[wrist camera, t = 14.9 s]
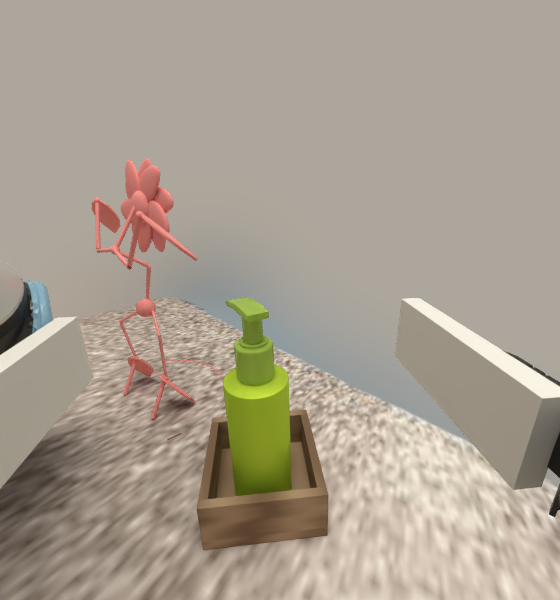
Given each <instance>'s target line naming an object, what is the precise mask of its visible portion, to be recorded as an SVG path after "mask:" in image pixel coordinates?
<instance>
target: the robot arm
mask: <svg viewBox="0 0 560 600" xmlns="http://www.w3.org/2000/svg"><path fill="white" fill-rule="evenodd" d="M395 357H396V358H397V359H398V360H399V361H400V362H401V363H402V365H403V366H404V367H405V368H406V369H407V370H408V371H409V372H410V374H411V375H412V376H413V377H414V378H415V379H416V380H417V381H418V383H419V384H420V385H421V386H422V387H423V388H424V389H425V391H426V392H427V393H428V394H429V395H430V396H431V397H432V398H433V400H434V401H435V402H436V403H437V404H438V405H439V406H440V408H441V409H442V410H443V411H444V412H445V413H446V414H447V415H448V416H449V418H450V419H451V420H452V421H453V422H454V423H455V424H456V426H457V427H458V428H459V429H460V430H461V431H462V432H463V434H464V435H465V436H466V437H467V438H468V439H469V440H470V442H471V443H472V444H473V445H474V446H475V447H476V448H477V449H478V451H479V452H480V453H481V454H482V455H483V456H484V457H485V459H486V460H487V461H488V462H489V463H490V464H491V465H492V466H493V468H494V469H495V470H496V471H497V472H498V473H499V474H500V475H501V477H502V478H503V479H504V480H505V481H506V482H507V483H508V485H509V486H510V487H511V488H512V489H513V490H516V489H525V488H534V487H541V486H542V483H543V481H544V478H545V475H546V472H547V470H548V468H549V469H550V470H552V471H553V472H554V473H555V474H556V475H557V476H558V477H559V478H560V382H558V381H556V380H555V379H553V378H552V377H550V376H546V375H545V373H544V372H542V371H540V370H539V369H537V368H533V366H532V365H531V364H529V363H527V362H526V361H524V360H523V359H521V358H519V357H518V356H515V355H513V354H510V353H508V352H505V351H503V350H501V349H499V348H498V347H496V346H494V345H493V344H491V343H490V342H488V341H486V340H485V339H483V338H482V337H480V336H478V335H477V334H475V333H474V332H472V331H470V330H469V329H467V328H466V327H464V326H463V325H461V324H460V323H458V322H456V321H455V320H453V319H452V318H450V317H448V316H447V315H445V314H444V313H442V312H440V311H439V310H437V309H436V308H434V307H433V306H431V305H429V304H428V303H426V302H425V301H423V300H421V299H420V298H410V299H402V301H401V310H400V318H399V326H398V336H397V343H396V352H395ZM92 379H93V374H92V370H91V366H90V362H89V359H88V355H87V351H86V347H85V344H84V340H83V336H82V332H81V329H80V325H79V321H78V318H77V317H65V318H56V319H54V320H53V319H52V313H51V307H50V301H49V296H48V291H47V288H46V286H45V285H44V284H43V283H40V282H31V281H27V282H26V281H24V282H23V281H22V279H21V277H20V276H19V274H18V273H17V271H16V270H15V269H14V268H13V267H12V266H11V265H9V264H7V263H6V262H4V261H2V260H0V489H1V488H2V486H3V485H4V484H5V483H6V482H7V480H8V479H9V478H10V477H11V476H12V474H13V473H14V472H15V471H16V470H17V468H18V467H19V466H20V465H21V464H22V462H23V461H24V460H25V459H26V458H27V457H28V455H29V454H30V453H31V452H32V451H33V449H34V448H35V447H36V446H37V445H38V443H39V442H40V441H41V440H42V439H43V437H44V436H45V435H46V434H47V433H48V431H49V430H50V429H51V428H52V427H53V425H54V424H55V423H56V422H57V421H58V419H59V418H60V417H61V416H62V415H63V413H64V412H65V411H66V410H67V409H68V407H69V406H70V405H71V404H72V403H73V401H74V400H75V399H76V398H77V397H78V395H79V394H80V393H81V392H82V391H83V389H84V388H85V387H86V386H87V385H88V383H89V382H90V381H91V380H92ZM558 510H560V485H559V487H558V490H557V492H556V495H555V498H554V500H553V503H552V505H551V508H550V512H549V515H551V516H554V517H555V516H556V513H557V511H558Z"/></svg>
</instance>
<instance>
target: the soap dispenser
mask: <svg viewBox="0 0 560 600" xmlns="http://www.w3.org/2000/svg"><path fill="white" fill-rule="evenodd" d="M226 304H227V306H229V307H231V308H233V309H234V310H235V311H236V312H237V313H238V314H239V315H240V316H241V317H242V328H243V337H242V338H241V339H239V340H238V341H236V343H235V345H234V351H235V362H236V368H234V369H232V370H231V371H230V372H229V373H228V374H227V375H226V376H225V378H224V381H223V387H224V396H225V405H226V414H227V423H228V432H229V441H230V451H231V460H232V469H233V478H234V487H235V495H236V496H243V495H252V494H262V493H271V492H280V491H290V490H291V489H292V480H291V446H290V412H289V379H288V374H287V372H286V371H285V370H284V369H283V368H282V367H280V366H278V365H275V364H274V353H273V342H272V340H271V339H270V338H268V337H265V336H263V330H262V319H266V318H268V317H269V313H268V311H267V310H266V309H265V308H264V307H263V306H262V305H261V304H259V303H258V302H257V301H255V300H253V299H251V298H246V297H245V298H239V299H234V300H229V301H226Z"/></svg>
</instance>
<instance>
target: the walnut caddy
mask: <svg viewBox="0 0 560 600" xmlns="http://www.w3.org/2000/svg"><path fill="white" fill-rule="evenodd" d="M289 412H290V446H291V480H292V489H291V490H290V491H280V492H271V493H262V494H252V495H243V496H236V495H235V487H234V478H233V469H232V460H231V451H230V441H229V432H228V423H227V417H218V418H213V419H212V425H211V430H210V436H209V442H208V448H207V453H206V459H205V465H204V471H203V477H202V482H201V488H200V494H199V500H198V505H197V513H198V519H199V525H200V531H201V537H202V543H203V549H204V550H207V549H215V548H224V547H232V546H240V545H249V544H257V543H265V542H274V541H282V540H291V539H299V538H307V537H316V536H324V535H327V525H328V492H327V488H326V484H325V481H324V477H323V473H322V469H321V465H320V461H319V457H318V454H317V450H316V446H315V442H314V438H313V434H312V430H311V426H310V423H309V419H308V415H307V411H306V410H298V411H289Z"/></svg>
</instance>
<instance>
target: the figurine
mask: <svg viewBox="0 0 560 600" xmlns="http://www.w3.org/2000/svg"><path fill="white" fill-rule="evenodd" d="M125 177H126V183H125V184H126V193H127V197H128V199H127V200H125V201H124V202H123V203H122V204H121V212H122V214H123V216H124V218H125V219H126V220H127V221H126V223H125V225H124V227H123V229H122V232H121V234H120V236H119V238H118V240H117V243H116V245H115V246H112V247H111V248H104V249H101V248H100V222H101V223H102V224H104V225H105V226H106V227H107V228H108V229H110V230H111V231H112V232H114V233H115V232H117V230H118V229H119V227H120V220H119V218H118V216H117V214H116V213H115V212H114V211H113V210H112V208H111V207H110V206H109V205H108V204H106V203H104V202H103V201H100V199H99V198H94V201H93V202H92V210H93V212H94V214H95V221H96V249H97V252H99V253H100V252H112V253H113V254H115V255H117V257H118V258H119V259H120V260H121V262H122V263H123V264H124V265H125V266H126V267H127V268H128V269H129V270H130V269H131V268H132V267H131V266H132V262H133V261H135V262H137V263H139V264H141V265H143V266H145V267H147V279H146V298H145V299H142V300H140V301H139V302H138V303H137V305H136V312H134V313H132V314H131V315H129V316H127V317H125V318H123V319H121V320H120V321H119V323H120V325H121V328H122V330H123V332H124V334H125V337H126V339H127V341H128V343H129V346H130V348H131V350H132V353H133V355H134V358H133V357H132V356H131V357H129V358H128V363H129V365H130V366H131V367H132V368H131V371H130V374H129V378H128V381H127V384H126V388H125V391H124V395H127V393H128V390H129V387H130V383H131V380H132V377H133V373H134V370H137V371H139V372H140V373H142V374H144V375H146V376H149V377H150V376H151V374H152V372H153V368H152V366H151V365H150V364H148V363H147V362H145V361H144V360H142V359H140V358H138V357H137V356H136V354H135V352H134V349H133V347H132V344H131V342H130V340H129V337H128V335H127V333H126V330H125V328H124V325H123V323H122V322H123V321H124V320H126V319H128V318H130V317H132V316H134V315H136V314H137V313H138V314H139V315H140V316H143V317H149V316H151V315H152V316H153V319H154V323H155V327H156V331H157V334H158V339H159V345H160V351H161V357H162V363H163V370H164V376H162V375H160V374H159V375H158V376H159V378H161V379H162V383H161V386H160V389H159V393H158V396H157V399H156V403H155V406H154V409H153V413H152V416H151V419H155V417H156V413H157V410H158V406H159V403H160V400H161V396H162V393H163V390H164V386H165V383H167V384H168V385H169V386H170V387H172V388H173V389H174V390H176V391H177V392H178V393H180V394H181V395H183V396H184V397H186V398H187V399H189V400H190V401H192V402H195V400H194V399H192V398H191V397H190V396H189V395H188V394H186V393H185V392H184V391H183V390H181V389H180V388H179V387H177V386H176V385H175V384H173V383H172V382H171V381H169V377H168V376H167V373H166V366H165V361H173V360H165V359H164V353H163V346H162V339H161V335H160V332H159V328H158V324H157V321H156V317H155V313H154V312H155V310H156V306H155V303H154V302H153V301H151V300H150V299H149V287H150V274H151V267H150V266H148V263H145V262H143V261H141V260H139V259H137V258H134V253H135V248H136V243H137V239H138V244H139V248H140V250H141V251H142V252H146V251H147V250H148V248H149V246H150V243H151V239H152V240H153V242H154V245H155V247H156V248H157V249H158V250H159V251H161V252H163V251H164V248H165V241H166V240H165V239H167V240H168V241H169V242H171V243H172V244H173V245H174V246H176V247H177V248H178V249H180V250H181V251H182V252H184V253H185V254H187V255H188V256H190V257H191V258H192V259H194V260H195V261H196V260H197V258H196V257H195V256H194V255H193V254H192V253H191V252H190V251H189V250H187V249H186V248H185V247H184V246H183V245H182V244H181V243H180V242H178V241H177V240H176V239H175V238H174V237H172V236H171V235H170V234H169V224H168V220H167V216H166V214H165V213H167V212H168V211H169V210H171V208H172V207H173V199H172V197H171V195H170V194H169V192H168V191H167V190H165V189H163V188H162V187H158V185H159V180H160V172H159V169H158V168H157V167H156V166H151V162H150V160H149V158H146V159H144V161H143V163H142V164H141V166H140V170H139V173H138V172H137V170H136V168H135V166H134V164H133V163H132V161H131V160H128V161H127V163H126V168H125ZM130 223H132V232H133V237H132V242H131V247H130V252H129V255H128V254H125V253H123V252H121V251H120V249H119V246H120V244H121V242H122V240H123V238H124V236H125V233H126V231H127V229H128V227H129V225H130ZM123 256H124V257H126V258H128V262H127V261H126V260H125V258H124V257H123ZM182 361H190V359H189V360H182ZM192 362H197V361H192ZM198 363H200V362H198ZM202 364H204V363H202ZM208 364H209V363H208ZM205 365H206V364H205ZM210 365H211V364H210ZM207 366H209V365H207ZM212 366H213V365H212ZM210 367H211V366H210ZM211 368H212V367H211ZM213 369H214V368H213ZM215 370H216V369H215ZM216 371H217V370H216ZM217 372H218V371H217ZM218 373H219V372H218ZM219 374H220V373H219ZM220 375H221V374H220ZM221 377H222V376H221ZM180 434H181V433H180ZM180 434H178V435H180ZM178 435H176V436H178ZM176 436H174V437H176ZM174 437H171V438H174ZM171 438H169V439H171ZM169 439H168V440H169Z"/></svg>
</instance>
